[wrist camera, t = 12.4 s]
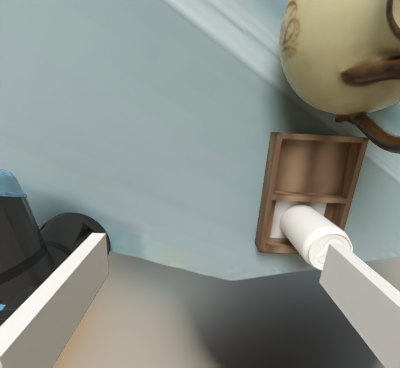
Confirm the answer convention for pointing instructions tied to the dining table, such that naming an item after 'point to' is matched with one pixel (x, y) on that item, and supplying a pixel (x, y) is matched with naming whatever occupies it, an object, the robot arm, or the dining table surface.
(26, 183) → the dining table surface
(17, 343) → the robot arm
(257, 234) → the tray
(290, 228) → the beverage can
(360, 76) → the pitcher
